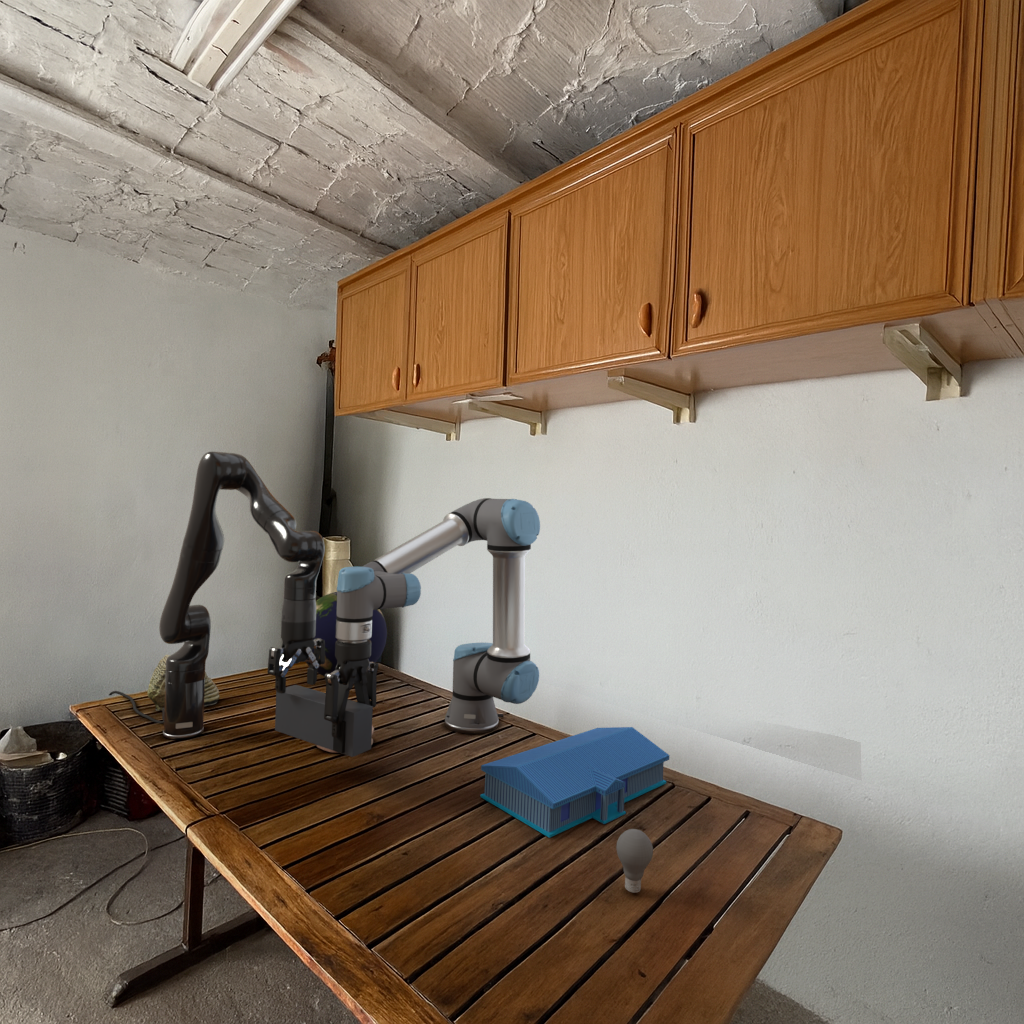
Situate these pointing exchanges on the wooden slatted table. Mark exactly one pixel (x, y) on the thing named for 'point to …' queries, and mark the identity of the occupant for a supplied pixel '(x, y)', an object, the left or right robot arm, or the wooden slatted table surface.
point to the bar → (322, 720)
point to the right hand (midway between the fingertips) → (349, 746)
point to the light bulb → (634, 857)
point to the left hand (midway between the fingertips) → (296, 688)
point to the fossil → (158, 687)
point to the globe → (327, 632)
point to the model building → (575, 778)
